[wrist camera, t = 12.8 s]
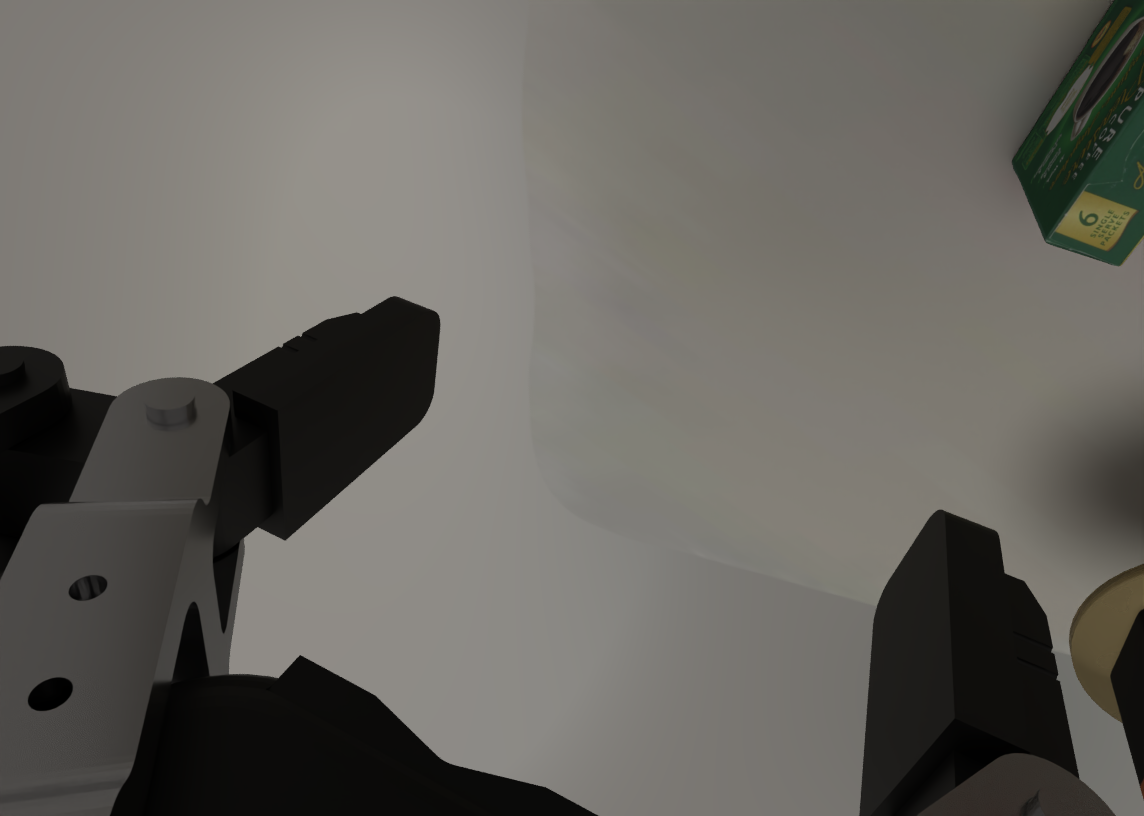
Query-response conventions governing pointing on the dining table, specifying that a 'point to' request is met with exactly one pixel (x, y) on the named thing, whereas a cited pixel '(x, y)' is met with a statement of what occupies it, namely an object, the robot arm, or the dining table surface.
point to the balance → (1105, 634)
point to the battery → (1132, 692)
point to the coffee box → (1093, 145)
